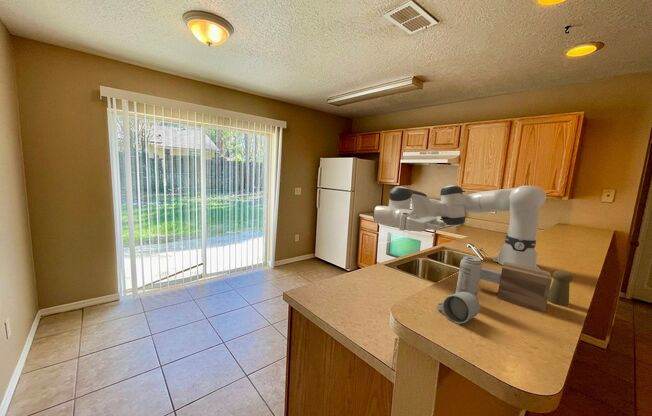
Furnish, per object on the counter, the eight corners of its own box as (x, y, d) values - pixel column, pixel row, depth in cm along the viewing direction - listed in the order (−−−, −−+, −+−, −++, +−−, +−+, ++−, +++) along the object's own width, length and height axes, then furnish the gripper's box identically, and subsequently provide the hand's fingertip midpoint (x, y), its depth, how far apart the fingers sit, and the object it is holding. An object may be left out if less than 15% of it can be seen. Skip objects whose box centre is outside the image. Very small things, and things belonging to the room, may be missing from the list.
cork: (573, 307, 90) (580, 276, 89) (552, 304, 91) (559, 273, 90) (561, 299, 96) (567, 270, 95) (542, 296, 97) (548, 267, 96)
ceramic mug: (480, 320, 77) (483, 294, 76) (467, 329, 72) (471, 302, 71) (444, 304, 85) (447, 281, 84) (430, 311, 80) (433, 287, 79)
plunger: (474, 275, 103) (476, 263, 102) (515, 286, 95) (517, 273, 95) (472, 279, 99) (474, 266, 98) (514, 290, 91) (517, 276, 91)
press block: (498, 289, 100) (504, 261, 98) (543, 302, 92) (549, 271, 91) (496, 298, 93) (502, 267, 91) (544, 312, 85) (551, 279, 84)
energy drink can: (478, 308, 84) (486, 262, 82) (459, 306, 85) (466, 260, 82) (469, 299, 90) (476, 256, 88) (451, 297, 91) (458, 254, 88)
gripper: (415, 224, 123) (447, 230, 115) (398, 230, 107) (433, 238, 99) (417, 210, 122) (449, 216, 114) (400, 214, 106) (436, 221, 98)
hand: (442, 226), depth 106 cm, fingers open, 8 cm apart
